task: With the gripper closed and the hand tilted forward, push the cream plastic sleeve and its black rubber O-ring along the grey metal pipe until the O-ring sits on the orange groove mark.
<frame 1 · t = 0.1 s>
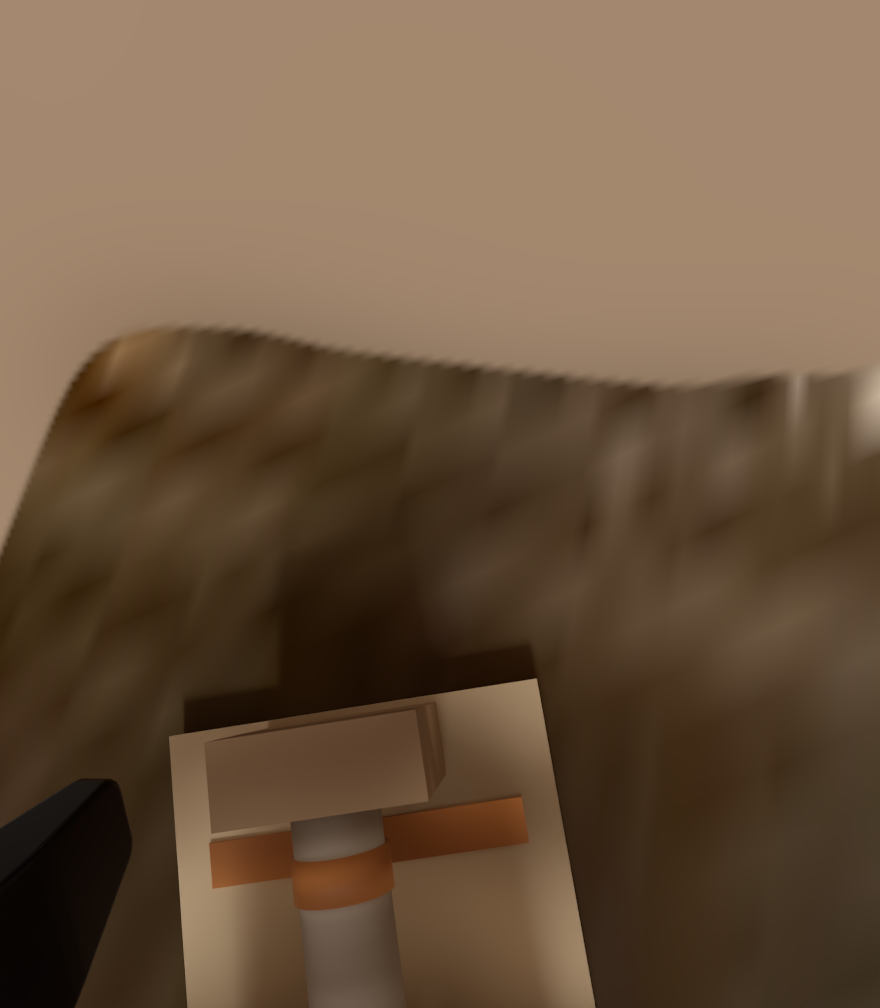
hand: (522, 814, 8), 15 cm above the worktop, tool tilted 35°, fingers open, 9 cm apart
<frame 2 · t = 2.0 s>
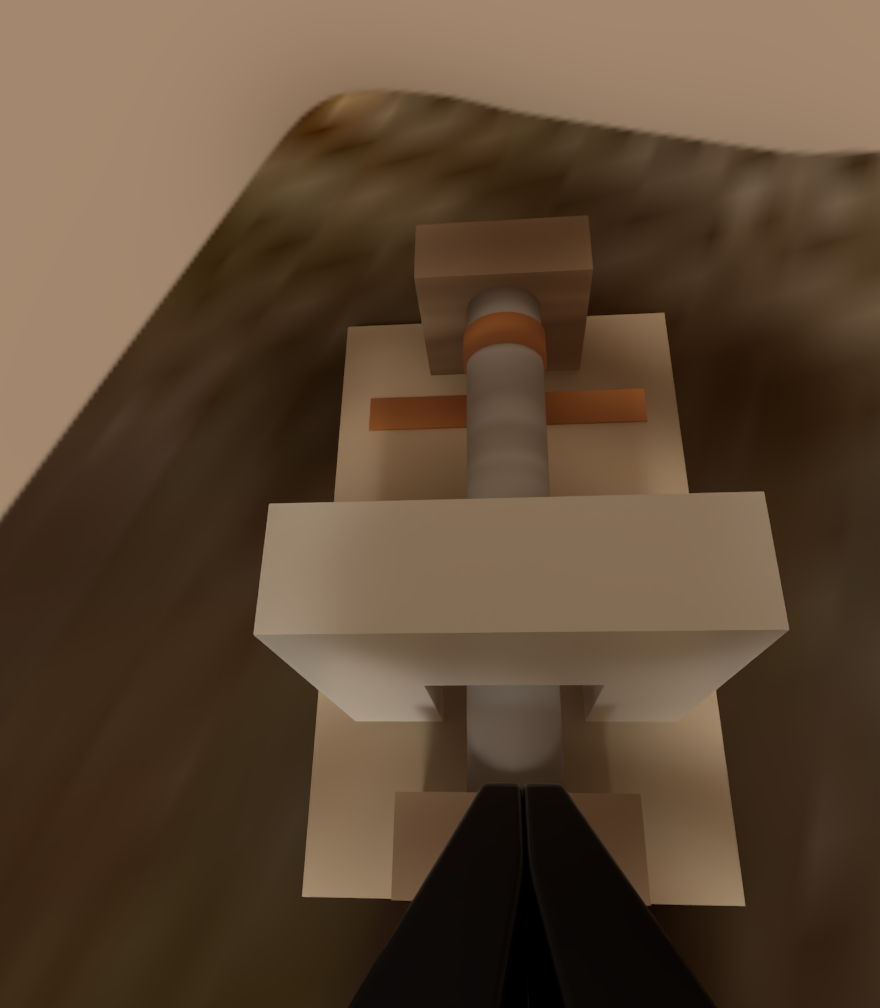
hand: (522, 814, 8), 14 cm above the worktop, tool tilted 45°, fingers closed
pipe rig: (509, 573, 24), on the worktop
sleeve: (511, 615, 17), point 6 cm above the worktop, slide at -3.5 cm
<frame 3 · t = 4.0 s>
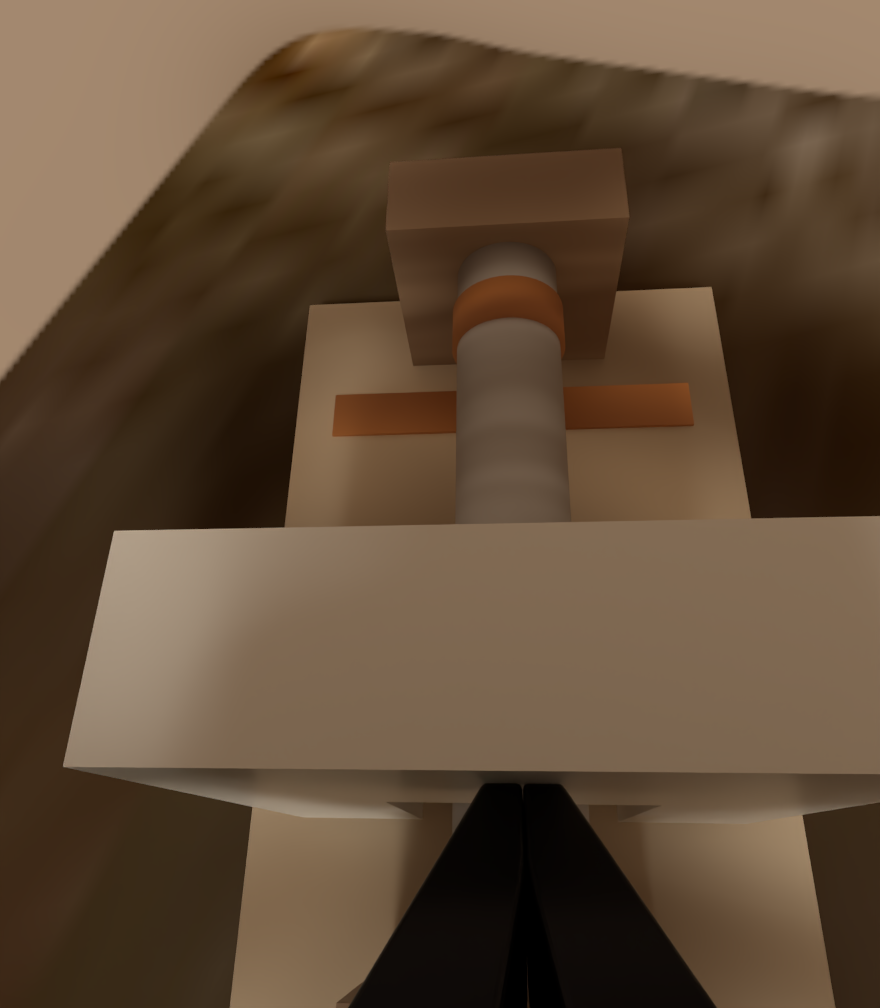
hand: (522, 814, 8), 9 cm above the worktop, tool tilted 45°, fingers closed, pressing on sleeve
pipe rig: (513, 624, 18), on the worktop
sleeve: (518, 691, 11), point 6 cm above the worktop, slide at -3.1 cm, touching gripper
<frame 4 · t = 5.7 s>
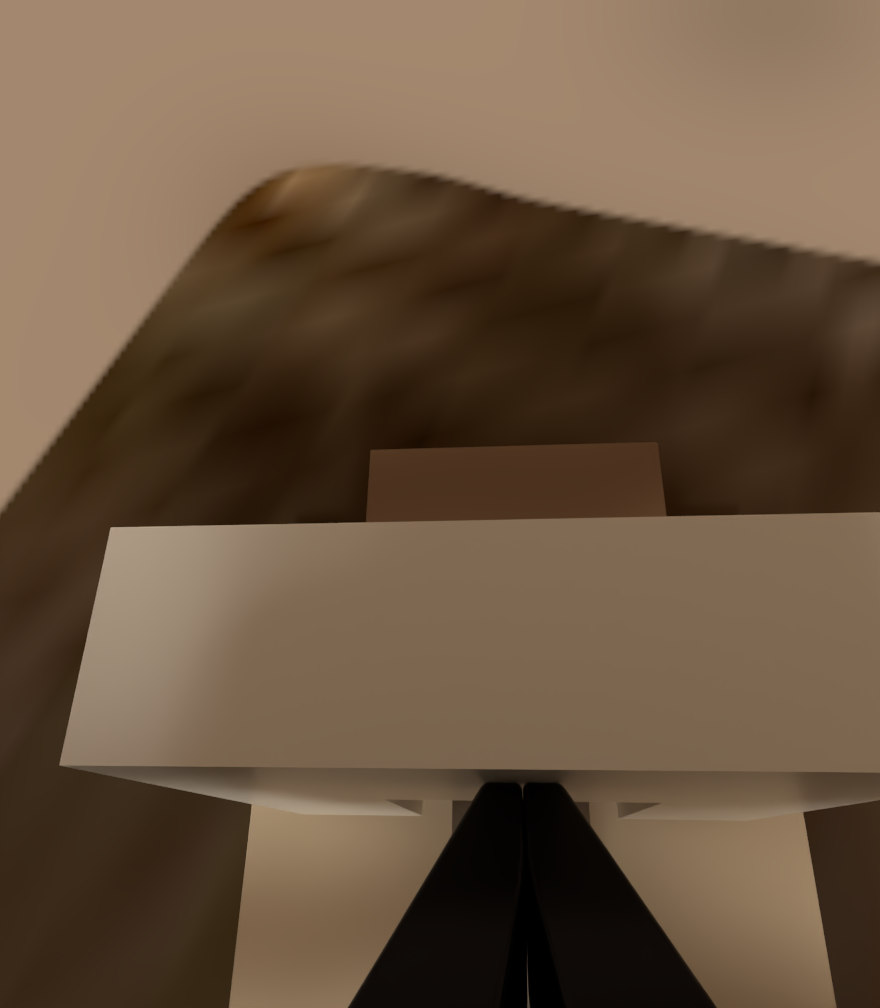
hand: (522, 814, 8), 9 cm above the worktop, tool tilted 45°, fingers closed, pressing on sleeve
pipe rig: (522, 985, 15), on the worktop
sleeve: (518, 688, 11), point 6 cm above the worktop, slide at 4.2 cm, touching gripper
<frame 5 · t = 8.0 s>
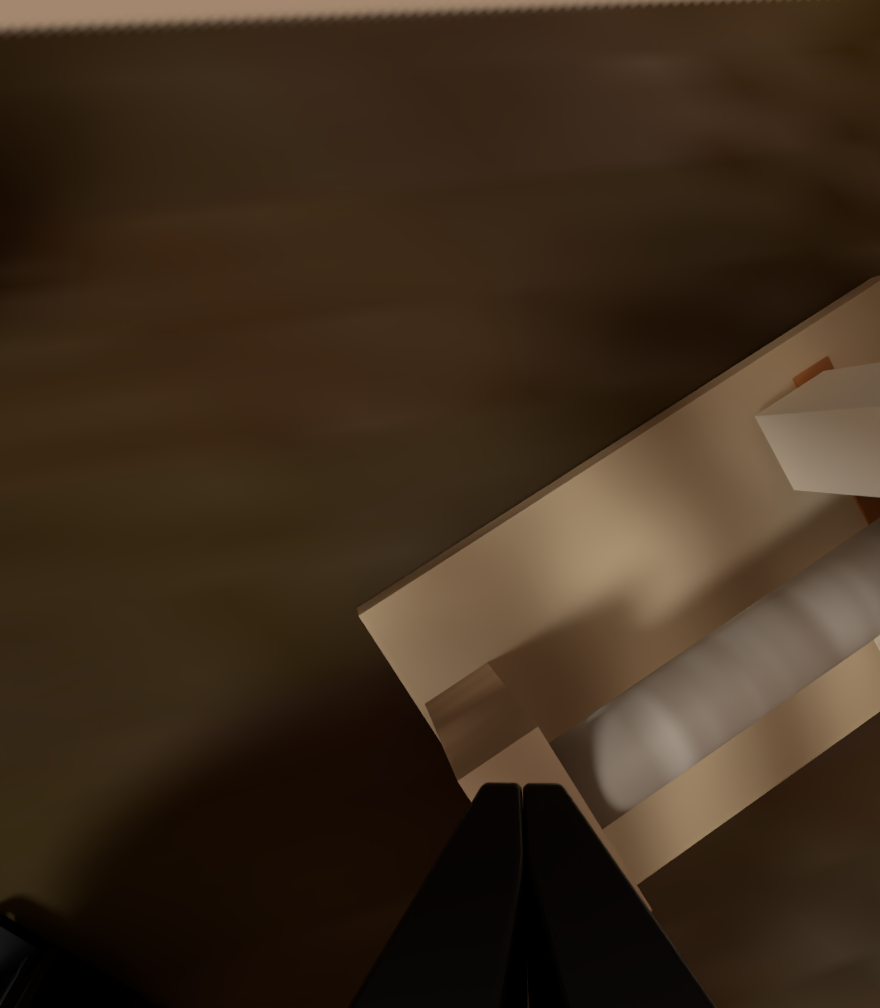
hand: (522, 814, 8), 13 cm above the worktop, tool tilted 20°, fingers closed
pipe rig: (713, 594, 23), on the worktop
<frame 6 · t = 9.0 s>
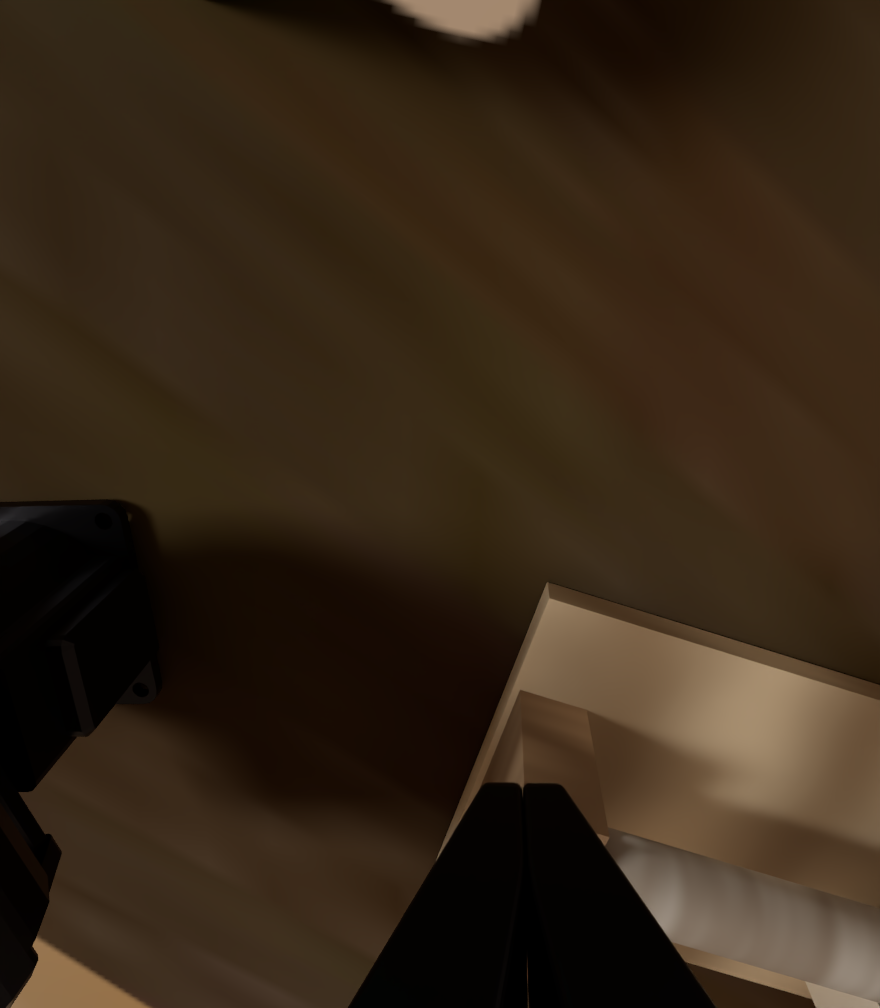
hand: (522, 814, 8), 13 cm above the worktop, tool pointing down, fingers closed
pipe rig: (760, 816, 24), on the worktop
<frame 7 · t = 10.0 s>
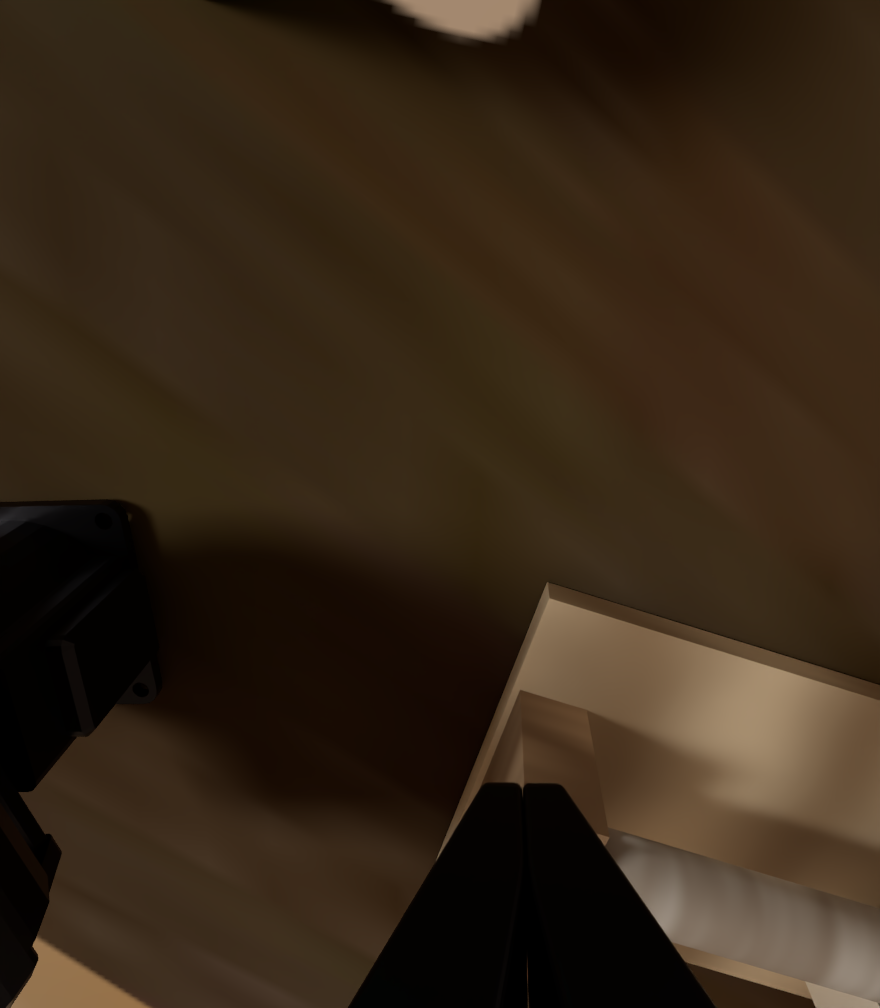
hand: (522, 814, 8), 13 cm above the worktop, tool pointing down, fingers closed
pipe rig: (760, 816, 24), on the worktop
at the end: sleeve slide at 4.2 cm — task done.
